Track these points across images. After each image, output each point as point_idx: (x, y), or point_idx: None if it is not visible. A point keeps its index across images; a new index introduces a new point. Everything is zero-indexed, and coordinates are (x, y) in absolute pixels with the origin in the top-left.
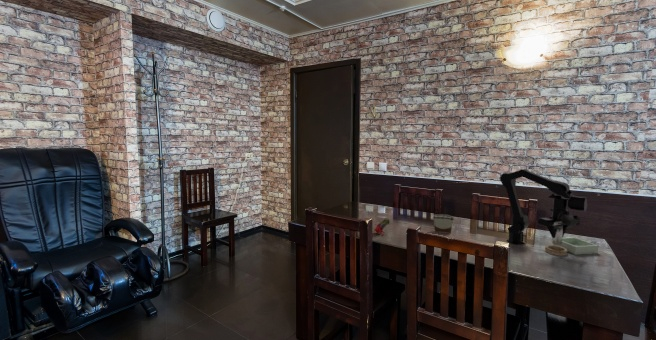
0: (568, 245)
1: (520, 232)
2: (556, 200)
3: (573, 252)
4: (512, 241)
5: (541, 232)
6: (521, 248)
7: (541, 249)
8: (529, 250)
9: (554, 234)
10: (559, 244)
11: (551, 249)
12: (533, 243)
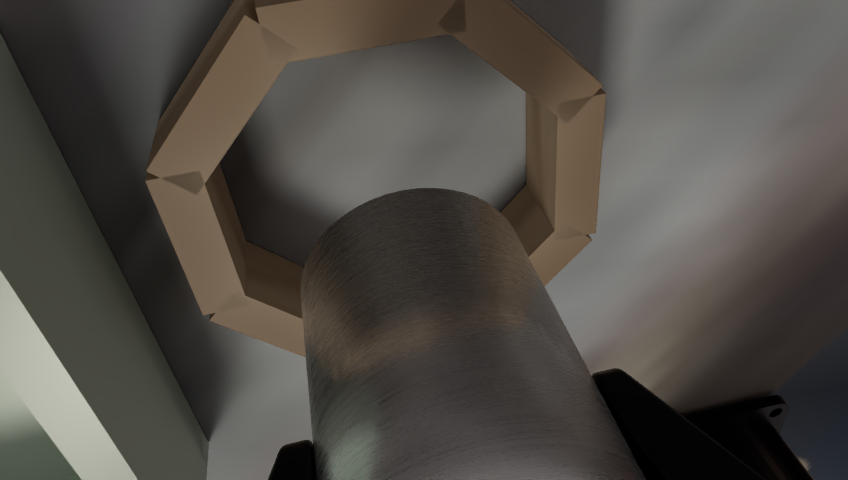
0: (50, 298)
1: None
2: None
3: (7, 83)
4: (785, 442)
5: None
6: (833, 267)
7: None
8: (801, 197)
9: (720, 472)
10: (427, 195)
11: (574, 120)
12: None
